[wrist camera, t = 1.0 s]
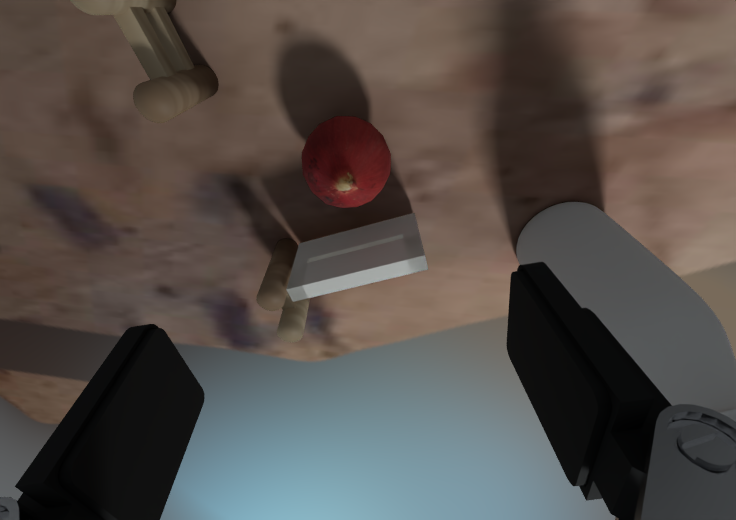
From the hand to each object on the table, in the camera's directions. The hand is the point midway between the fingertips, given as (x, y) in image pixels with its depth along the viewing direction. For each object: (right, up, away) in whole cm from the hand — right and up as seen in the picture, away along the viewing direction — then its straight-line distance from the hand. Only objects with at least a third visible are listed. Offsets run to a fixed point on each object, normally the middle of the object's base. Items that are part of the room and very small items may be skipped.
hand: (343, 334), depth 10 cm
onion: (-1, +11, +17) cm, 21 cm away
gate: (0, +4, +21) cm, 21 cm away
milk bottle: (+17, +4, +22) cm, 28 cm away
